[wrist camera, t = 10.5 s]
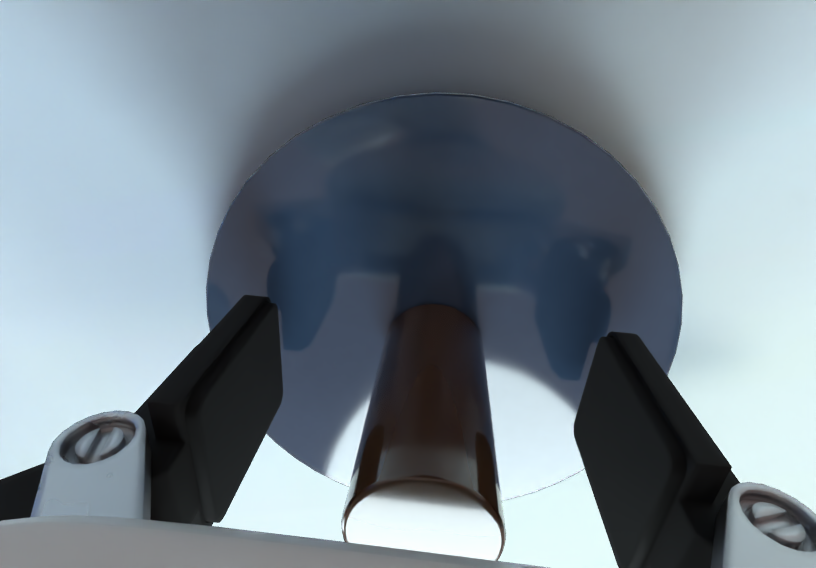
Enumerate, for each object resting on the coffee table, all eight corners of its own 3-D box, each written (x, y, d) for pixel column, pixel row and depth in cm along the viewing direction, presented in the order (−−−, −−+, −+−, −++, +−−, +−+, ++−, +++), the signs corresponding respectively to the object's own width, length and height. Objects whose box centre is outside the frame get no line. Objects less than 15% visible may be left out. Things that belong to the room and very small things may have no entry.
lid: (135, 247, 13) (-141, 402, 7) (548, -33, 9) (730, -222, 3) (372, 519, 17) (330, 765, 11) (722, 398, 13) (944, 665, 7)
